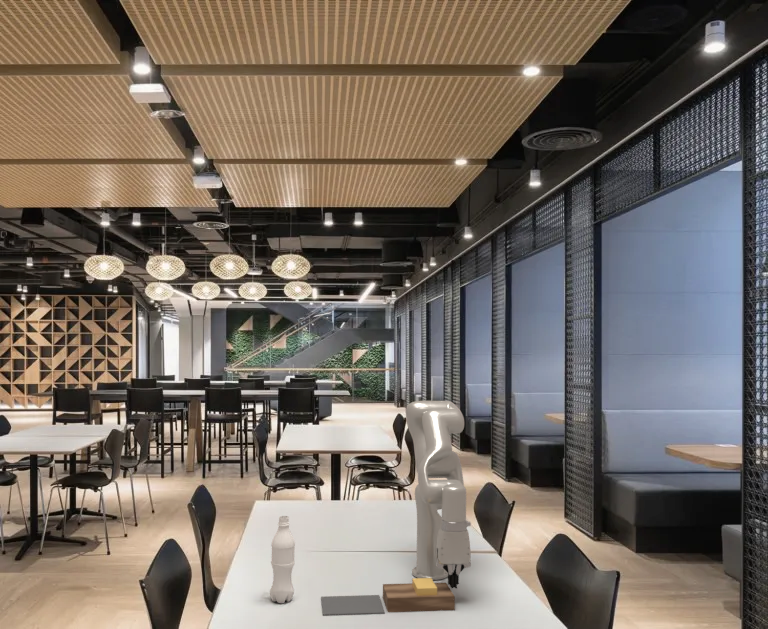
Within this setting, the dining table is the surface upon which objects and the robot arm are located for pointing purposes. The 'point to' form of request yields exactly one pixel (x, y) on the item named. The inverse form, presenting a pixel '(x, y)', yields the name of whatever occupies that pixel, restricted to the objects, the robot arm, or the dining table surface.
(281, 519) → the water bottle
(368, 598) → the mat
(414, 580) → the yellow rectangular block
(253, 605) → the dining table surface
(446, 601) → the brown wooden block
